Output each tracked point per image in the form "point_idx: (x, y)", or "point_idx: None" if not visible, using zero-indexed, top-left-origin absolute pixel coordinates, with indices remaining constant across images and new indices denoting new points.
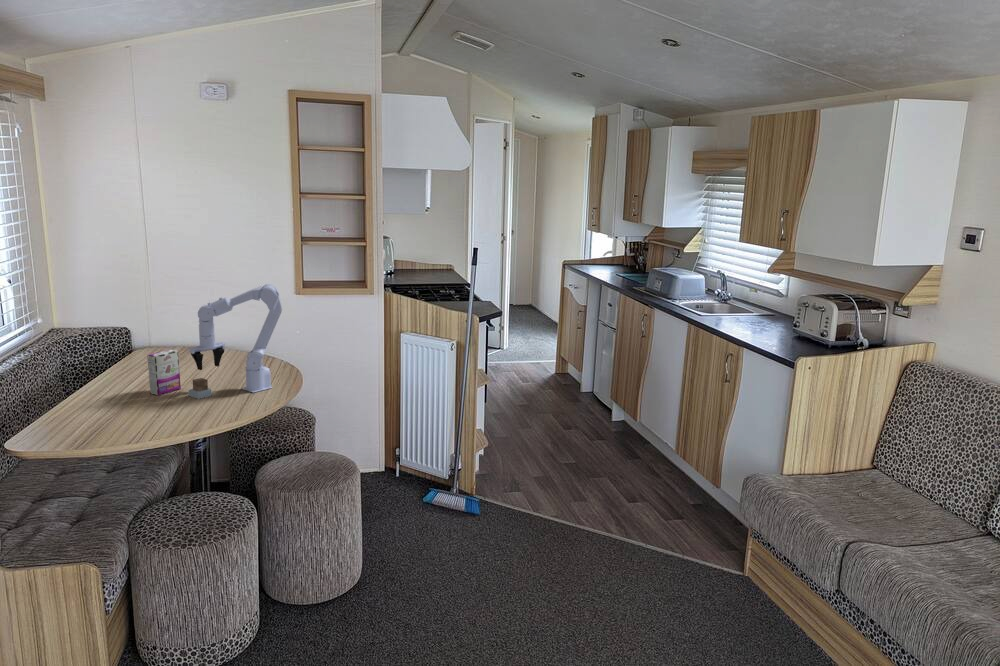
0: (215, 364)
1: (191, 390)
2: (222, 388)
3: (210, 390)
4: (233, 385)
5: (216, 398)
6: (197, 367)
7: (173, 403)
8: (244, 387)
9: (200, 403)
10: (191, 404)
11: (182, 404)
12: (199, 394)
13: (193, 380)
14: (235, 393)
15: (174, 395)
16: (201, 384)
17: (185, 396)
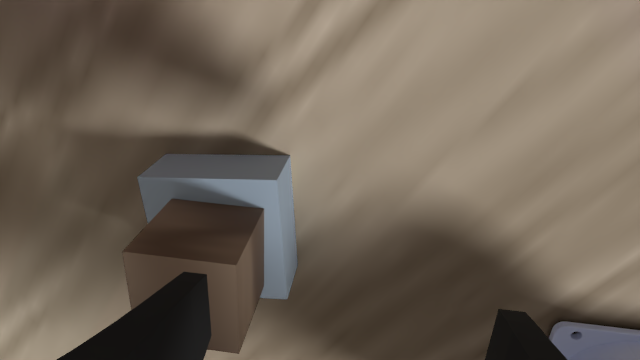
0: (501, 344)
1: (149, 210)
2: (492, 185)
3: (281, 293)
4: (629, 187)
5: (280, 332)
6: (165, 290)
7: (15, 209)
8: (584, 333)
9: None
10: (101, 306)
11: (56, 267)
12: None
13: (127, 262)
14: (443, 348)
15: (87, 39)
16: None
17: (145, 136)
